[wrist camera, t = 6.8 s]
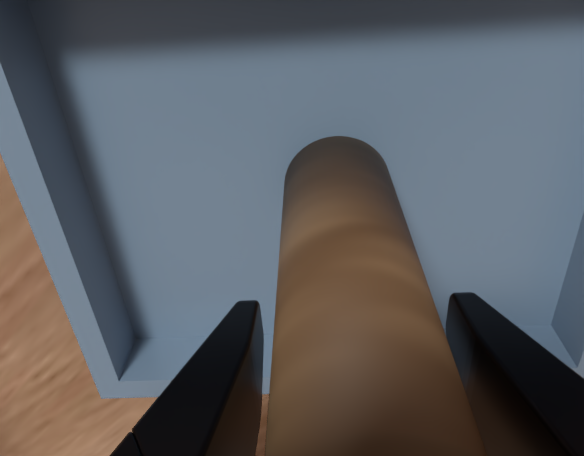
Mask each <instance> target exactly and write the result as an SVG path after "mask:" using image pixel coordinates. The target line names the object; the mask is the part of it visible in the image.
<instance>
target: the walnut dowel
mask: <svg viewBox="0 0 584 456" xmlns="http://www.w3.org/2000/svg"><path fill="white" fill-rule="evenodd" d="M265 456H487V453H486V450H485V447H484V444H483V441H482V438H481V435H480V433H479V430H478V427H477V424H476V421H475V418H474V415H473V412H472V410H471V407H470V404H469V401H468V398H467V395H466V392H465V389H464V387H463V384H462V381H461V378H460V375H459V372H458V369H457V366H456V364H455V361H454V358H453V355H452V352H451V349H450V346H449V343H448V341H447V338H446V335H445V332H444V329H443V326H442V323H441V320H440V317H439V315H438V312H437V309H436V306H435V303H434V300H433V297H432V294H431V292H430V289H429V286H428V283H427V280H426V277H425V274H424V271H423V269H422V266H421V263H420V260H419V257H418V254H417V251H416V248H415V246H414V243H413V240H412V237H411V234H410V231H409V228H408V225H407V223H406V220H405V217H404V214H403V211H402V208H401V205H400V202H399V200H398V197H397V194H396V191H395V188H394V185H393V182H392V179H391V177H390V174H389V171H388V168H387V165H386V163H385V161H384V159H383V158H382V156H381V155H380V154H379V153H378V152H377V151H376V150H375V149H374V148H373V147H372V146H370V145H369V144H367V143H365V142H364V141H361V140H359V139H356V138H352V137H346V136H332V137H326V138H322V139H319V140H317V141H314V142H312V143H310V144H308V145H307V146H306V147H304V148H303V149H302V150H301V151H299V152H298V153H297V154H296V156H295V157H294V158H293V159H292V161H291V163H290V164H289V167H288V169H287V172H286V175H285V181H284V194H283V208H282V222H281V236H280V250H279V264H278V278H277V291H276V305H275V319H274V333H273V347H272V361H271V375H270V389H269V403H268V417H267V431H266V445H265Z"/></svg>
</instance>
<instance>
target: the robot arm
mask: <svg viewBox="0 0 584 456" xmlns="http://www.w3.org/2000/svg"><path fill="white" fill-rule="evenodd" d="M446 338H447V341H448V343H449V346H450V349H451V352H452V355H453V358H454V361H455V364H456V366H457V369H458V372H459V375H460V378H461V381H462V384H463V387H464V389H465V392H466V395H467V398H468V401H469V404H470V407H471V410H472V412H473V415H474V418H475V421H476V424H477V427H478V430H479V433H480V435H481V438H482V441H483V444H484V447H485V450H486V453H487V456H584V378H583V377H581V376H580V375H579V374H578V373H576V372H575V371H574V370H572V369H571V368H570V367H569V366H567V365H566V364H565V363H564V362H562V361H561V360H560V359H558V358H557V357H556V356H555V355H553V354H552V353H551V352H549V351H548V350H547V349H546V348H544V347H543V346H542V345H541V344H539V343H538V342H537V341H535V340H534V339H533V338H532V337H530V336H529V335H528V334H526V333H525V332H524V331H523V330H521V329H520V328H519V327H518V326H516V325H515V324H514V323H512V322H511V321H510V320H509V319H507V318H506V317H505V316H503V315H502V314H501V313H500V312H498V311H497V310H496V309H495V308H493V307H492V306H491V305H489V304H488V303H487V302H486V301H484V300H483V299H482V298H481V297H479V296H478V295H477V294H475V293H473V292H456V293H452V294H451V295H450V298H449V303H448V311H447V318H446ZM263 354H264V332H263V325H262V317H261V309H260V304H259V302H258V301H257V300H242V301H238V302H236V303H235V305H234V306H233V307H232V308H231V309H230V311H229V312H228V313H227V314H226V315H225V317H224V318H223V319H222V320H221V322H220V323H219V324H218V325H217V326H216V328H215V329H214V330H213V331H212V332H211V334H210V335H209V336H208V337H207V339H206V340H205V341H204V342H203V343H202V345H201V346H200V347H199V348H198V349H197V351H196V352H195V353H194V354H193V356H192V357H191V358H190V359H189V360H188V362H187V363H186V364H185V365H184V366H183V368H182V369H181V370H180V371H179V373H178V374H177V375H176V376H175V377H174V379H173V380H172V381H171V382H170V383H169V385H168V386H167V387H166V388H165V390H164V391H163V392H162V393H161V394H160V396H159V397H158V398H157V399H156V400H155V402H154V403H153V404H152V405H151V407H150V408H149V409H148V410H147V411H146V413H145V414H144V415H143V416H142V417H141V419H140V420H139V421H138V422H137V424H136V425H135V426H134V427H133V428H132V432H133V433H132V432H129V433H128V434H127V435H126V437H125V438H124V439H123V440H122V441H121V443H120V444H119V445H118V446H117V448H116V449H115V450H114V451H113V452H112V453H111V455H110V456H255V452H256V446H257V439H258V433H259V427H260V419H261V407H262V383H263Z"/></svg>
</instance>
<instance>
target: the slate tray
mask: <svg viewBox="0 0 584 456" xmlns="http://www.w3.org/2000/svg"><path fill="white" fill-rule="evenodd" d="M332 136H346V137H352V138H356V139H359V140H361V141H364V142H365V143H367V144H369V145H370V146H372V147H373V148H374V149H375V150H376V151H377V152H378V153H379V154H380V155H381V156H382V158H383V159H384V161H385V163H386V165H387V168H388V171H389V174H390V177H391V179H392V182H393V185H394V188H395V191H396V194H397V197H398V200H399V202H400V205H401V208H402V211H403V214H404V217H405V220H406V223H407V225H408V228H409V231H410V234H411V237H412V240H413V243H414V246H415V248H416V251H417V254H418V257H419V260H420V263H421V266H422V269H423V271H424V274H425V277H426V280H427V283H428V286H429V289H430V292H431V294H432V297H433V300H434V303H435V306H436V309H437V312H438V315H439V317H440V320H441V323H442V326H443V329H444V332H445V335H446V318H447V311H448V303H449V298H450V295H451V294H452V293H456V292H473V293H475V294H477V295H478V296H479V297H481V298H482V299H483V300H484V301H486V302H487V303H488V304H489V305H491V306H492V307H493V308H495V309H496V310H497V311H498V312H500V313H501V314H502V315H503V316H505V317H506V318H507V319H509V320H510V321H511V322H512V323H514V324H515V325H516V326H518V327H519V328H520V329H521V330H523V331H524V332H525V333H526V334H528V335H529V336H530V337H532V338H533V339H534V340H535V341H537V342H538V343H539V344H541V345H542V346H543V347H544V348H546V349H547V350H548V351H549V352H551V353H552V354H553V355H555V356H556V357H557V358H558V359H560V360H561V361H562V362H564V363H565V364H566V365H567V366H569V367H570V368H571V369H572V370H574V371H575V372H576V373H578V374H579V375H580V376H581V377H583V378H584V0H0V153H1V156H2V158H3V160H4V163H5V165H6V168H7V170H8V173H9V175H10V177H11V180H12V182H13V185H14V187H15V190H16V192H17V194H18V197H19V199H20V202H21V204H22V207H23V209H24V212H25V214H26V216H27V219H28V221H29V224H30V226H31V229H32V231H33V233H34V236H35V238H36V241H37V243H38V246H39V248H40V250H41V253H42V255H43V258H44V260H45V263H46V265H47V267H48V270H49V272H50V275H51V277H52V280H53V282H54V285H55V287H56V289H57V292H58V294H59V297H60V299H61V302H62V304H63V306H64V309H65V311H66V314H67V316H68V319H69V321H70V323H71V326H72V328H73V331H74V333H75V336H76V338H77V341H78V343H79V345H80V348H81V350H82V353H83V355H84V358H85V360H86V362H87V365H88V367H89V370H90V372H91V375H92V377H93V379H94V382H95V384H96V387H97V389H98V392H99V394H100V396H101V399H103V398H139V397H159V396H160V394H161V393H162V392H163V391H164V390H165V388H166V387H167V386H168V385H169V383H170V382H171V381H172V380H173V379H174V377H175V376H176V375H177V374H178V373H179V371H180V370H181V369H182V368H183V366H184V365H185V364H186V363H187V362H188V360H189V359H190V358H191V357H192V356H193V354H194V353H195V352H196V351H197V349H198V348H199V347H200V346H201V345H202V343H203V342H204V341H205V340H206V339H207V337H208V336H209V335H210V334H211V332H212V331H213V330H214V329H215V328H216V326H217V325H218V324H219V323H220V322H221V320H222V319H223V318H224V317H225V315H226V314H227V313H228V312H229V311H230V309H231V308H232V307H233V306H234V305H235V303H236V302H238V301H242V300H257V301H258V302H259V304H260V309H261V317H262V325H263V332H264V354H263V383H262V394H269V389H270V375H271V361H272V347H273V333H274V319H275V305H276V291H277V278H278V264H279V250H280V236H281V222H282V208H283V194H284V181H285V175H286V172H287V169H288V167H289V164H290V163H291V161H292V159H293V158H294V157H295V156H296V154H297V153H298V152H299V151H301V150H302V149H303V148H304V147H306V146H307V145H308V144H310V143H312V142H314V141H317V140H319V139H322V138H326V137H332Z"/></svg>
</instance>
